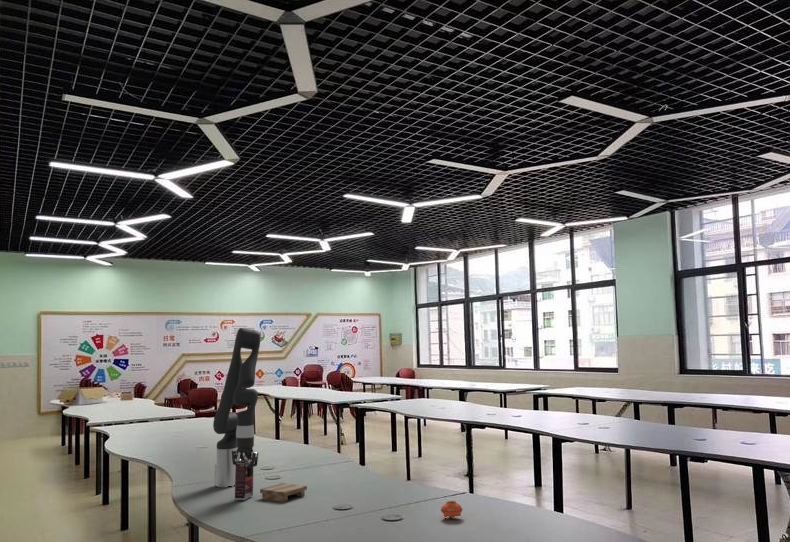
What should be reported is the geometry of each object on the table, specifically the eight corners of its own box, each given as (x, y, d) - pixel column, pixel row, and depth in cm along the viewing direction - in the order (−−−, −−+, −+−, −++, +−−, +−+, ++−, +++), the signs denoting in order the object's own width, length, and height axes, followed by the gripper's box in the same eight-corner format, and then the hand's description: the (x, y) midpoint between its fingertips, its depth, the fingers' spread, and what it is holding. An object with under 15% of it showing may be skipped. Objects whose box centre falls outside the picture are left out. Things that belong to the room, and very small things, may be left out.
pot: (452, 522, 223) (448, 502, 225) (439, 523, 229) (435, 504, 231) (468, 517, 228) (464, 498, 230) (455, 518, 234) (451, 499, 236)
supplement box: (244, 500, 261) (245, 461, 263) (234, 500, 262) (234, 461, 264) (253, 495, 270) (254, 458, 272) (243, 495, 271) (243, 457, 273)
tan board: (260, 498, 265) (260, 489, 266) (282, 492, 277) (282, 482, 278) (285, 502, 258) (285, 492, 259) (306, 495, 270) (306, 485, 270)
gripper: (226, 435, 270) (226, 476, 268) (250, 438, 262) (250, 479, 260) (239, 433, 276) (238, 473, 274) (263, 435, 269) (263, 476, 267)
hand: (244, 475), depth 267 cm, fingers closed on supplement box, 5 cm apart
